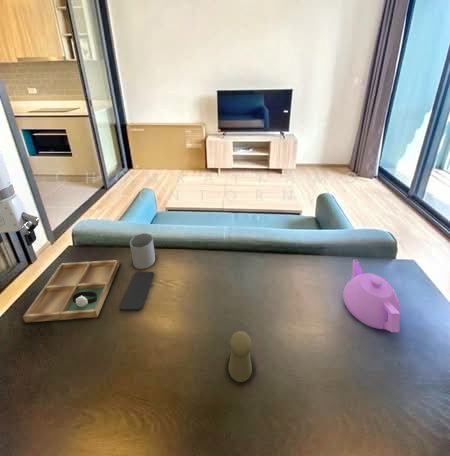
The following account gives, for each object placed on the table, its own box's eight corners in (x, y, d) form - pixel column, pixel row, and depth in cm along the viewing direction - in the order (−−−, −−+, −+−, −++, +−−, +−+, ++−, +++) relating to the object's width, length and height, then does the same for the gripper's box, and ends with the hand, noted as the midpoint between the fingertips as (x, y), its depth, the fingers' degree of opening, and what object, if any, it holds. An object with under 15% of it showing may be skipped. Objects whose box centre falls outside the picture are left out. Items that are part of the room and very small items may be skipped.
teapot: (419, 343, 69) (431, 312, 65) (365, 347, 68) (374, 316, 64) (371, 279, 90) (378, 252, 86) (329, 281, 89) (334, 254, 85)
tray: (25, 322, 76) (22, 316, 75) (62, 268, 96) (60, 263, 95) (97, 317, 77) (96, 311, 76) (119, 264, 97) (118, 259, 96)
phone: (118, 308, 79) (135, 271, 93) (118, 310, 79) (135, 272, 93) (141, 309, 79) (154, 271, 93) (141, 311, 79) (155, 273, 93)
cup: (146, 250, 105) (143, 230, 101) (159, 258, 100) (157, 238, 96) (129, 262, 98) (125, 242, 95) (142, 272, 94) (138, 251, 90)
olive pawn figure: (239, 349, 68) (239, 321, 64) (256, 368, 64) (258, 339, 60) (223, 367, 64) (223, 338, 60) (241, 388, 60) (241, 358, 56)
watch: (70, 306, 80) (67, 298, 78) (78, 294, 84) (76, 286, 83) (93, 307, 79) (91, 299, 78) (101, 295, 84) (99, 287, 82)
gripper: (-51, 201, 65) (-27, 254, 71) (20, 198, 66) (37, 250, 72) (-26, 188, 72) (-6, 237, 78) (37, 185, 73) (52, 234, 79)
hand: (15, 243), depth 75 cm, fingers open, 9 cm apart
